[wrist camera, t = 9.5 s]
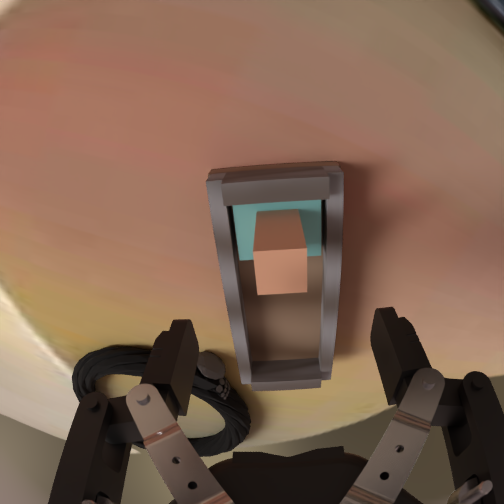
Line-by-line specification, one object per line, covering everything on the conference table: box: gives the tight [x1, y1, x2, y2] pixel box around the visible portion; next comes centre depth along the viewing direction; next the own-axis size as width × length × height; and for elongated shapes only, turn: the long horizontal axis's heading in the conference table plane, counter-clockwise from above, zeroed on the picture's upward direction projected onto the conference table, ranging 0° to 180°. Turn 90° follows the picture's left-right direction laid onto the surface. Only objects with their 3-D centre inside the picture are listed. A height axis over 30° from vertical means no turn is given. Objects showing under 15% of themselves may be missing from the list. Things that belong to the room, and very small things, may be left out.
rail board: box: [206, 161, 344, 391], centre depth 28 cm, size 22×10×4 cm, turn 5°
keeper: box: [232, 200, 321, 295], centre depth 21 cm, size 5×6×8 cm
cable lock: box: [72, 347, 251, 457], centre depth 40 cm, size 28×4×30 cm
